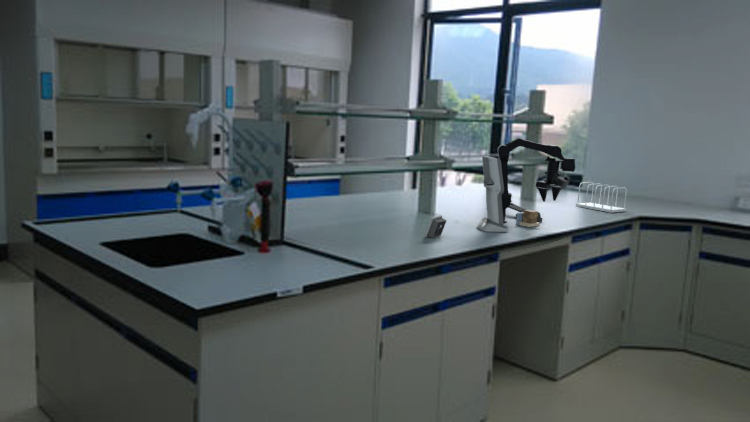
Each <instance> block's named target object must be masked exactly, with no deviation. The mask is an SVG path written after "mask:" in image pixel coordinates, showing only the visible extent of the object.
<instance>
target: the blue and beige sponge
mask: <svg viewBox="0 0 750 422" xmlns="http://www.w3.org/2000/svg"><path fill="white" fill-rule="evenodd" d="M523 213H524V212H516V214H517V218H515V219H516V221H515V225H516V226H523V227H527V228H531V227H539V226H540V223H541V222H540V223H538V222H537V223H532V224H530V223H526V222H523Z"/></svg>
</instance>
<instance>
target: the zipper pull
mask: <svg viewBox="0 0 750 422" xmlns="http://www.w3.org/2000/svg"><path fill="white" fill-rule="evenodd" d="M507 209H511V210H513V211H516V212H517V213H521V212H524V210H527V209H525V208H523V207H521V206H520V205H517V204H515V203H513V202H511V204H510V206H509V207H508V208H507ZM517 213H516V214H515V219H517ZM541 215H542V214H541V212H539V211H538V216H537V222H538V223H542V222H543V217H541Z"/></svg>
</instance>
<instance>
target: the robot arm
mask: <svg viewBox="0 0 750 422" xmlns="http://www.w3.org/2000/svg"><path fill="white" fill-rule="evenodd" d="M518 147H521V148H526V149H530V150H534V151H537V152H542V153H544V154H546V155H548V156H546V157H545V158H544V159H543V160H544V161H545V162H547V164H546V165H547V166H546V171H545V172H544V174H545V179H544V180H543V181H541V180H538V181H535V187H536V189H537V190H538V191H539V195H540V197H541V200H542V202H544V203H545V202H546V199H547V196H548V195H547V194H548V192H549V191H550V187H551V194H552V200H553V201H554V202H555V201H556V200H557V199H558V196H559V194H560V192H561V191H562V190H564V189H565V188H567V185H569V184H570V177H568V176H565V177H562V176H561V173H560V172H559V170H561V172H567V173H574V172H575V170H576V158H573V157H571V158H568V157H567V158H566V157H564V155H563V154H562V147H560V146H558V145H555V144H543V143H538V142H534V141H531V140H526V139H523V138H520V137H517V138H515V139H513V140H512V141H510V142H508V143H506V144H500V145H499V146H498V147H497V156H498V159H500V160H501V166H502V175H503V183H504V193H503V194H502V210H503V224H506V223H508V221H507V220H506V215H507V212H506V211H507V209H509V208H508V207H509V206H510V204H511V203H513V200H512V195H513V194H512V193H511V192H509V175H508V173H509V170H508V162H509V157H510V152H512V151H514V150H515V149H516V148H518ZM557 159H558V160H557Z"/></svg>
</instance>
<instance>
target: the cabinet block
mask: <svg viewBox="0 0 750 422" xmlns="http://www.w3.org/2000/svg"><path fill="white" fill-rule="evenodd" d="M538 212H539V211H538V210H534V209H526V210H524V213H523V222H526V223H530V224H532V223H537V216H538Z"/></svg>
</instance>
